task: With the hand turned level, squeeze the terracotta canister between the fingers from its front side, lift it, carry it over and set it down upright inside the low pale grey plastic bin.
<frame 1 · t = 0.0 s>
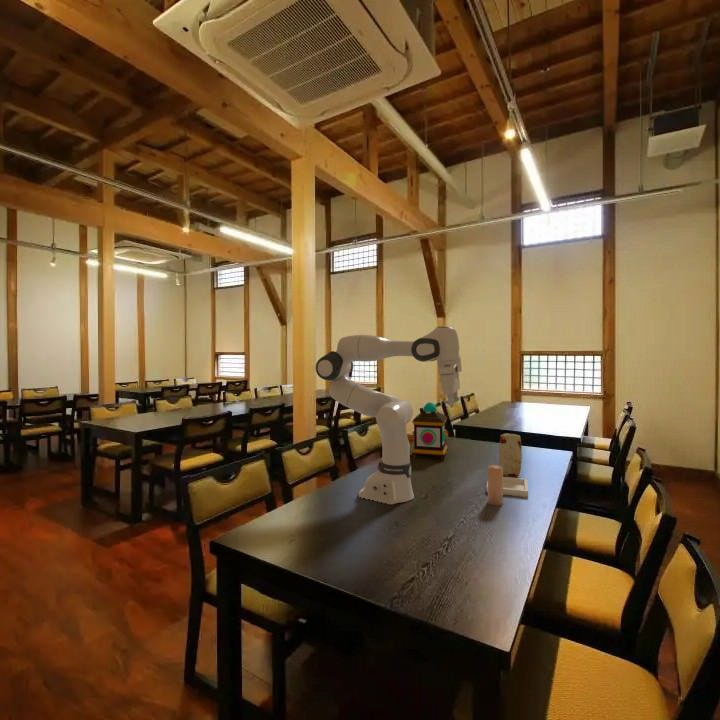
hand: (453, 403, 156), 39 cm above the table, tool pointing down, fingers open, 8 cm apart
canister: (495, 502, 157), on the table
decorative lantern: (430, 456, 225), on the table
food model: (510, 476, 189), on the table
bin: (507, 488, 172), on the table
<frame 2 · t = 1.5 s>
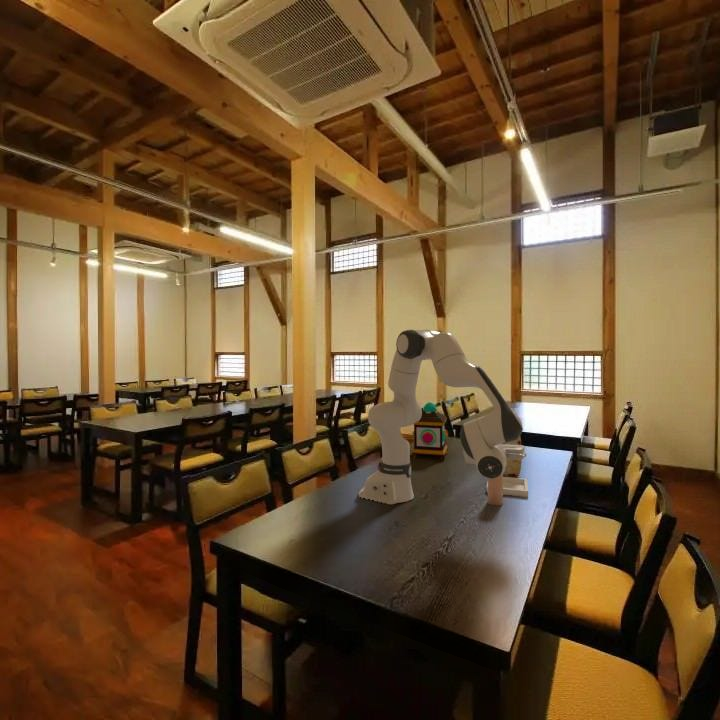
hand: (493, 445, 145), 25 cm above the table, tool horizontal, fingers open, 8 cm apart
nothing on the table moved.
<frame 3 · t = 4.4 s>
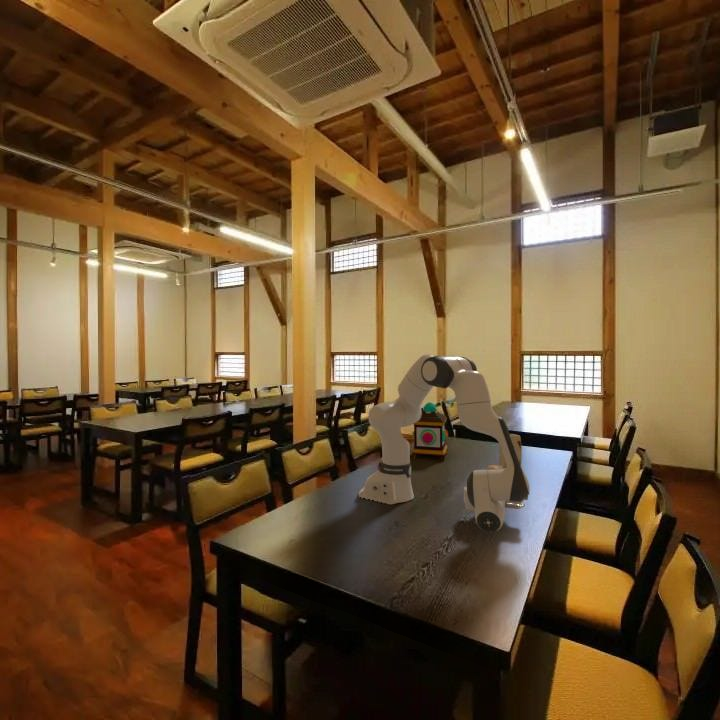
hand: (493, 489, 149), 8 cm above the table, tool horizontal, fingers open, 8 cm apart
nothing on the table moved.
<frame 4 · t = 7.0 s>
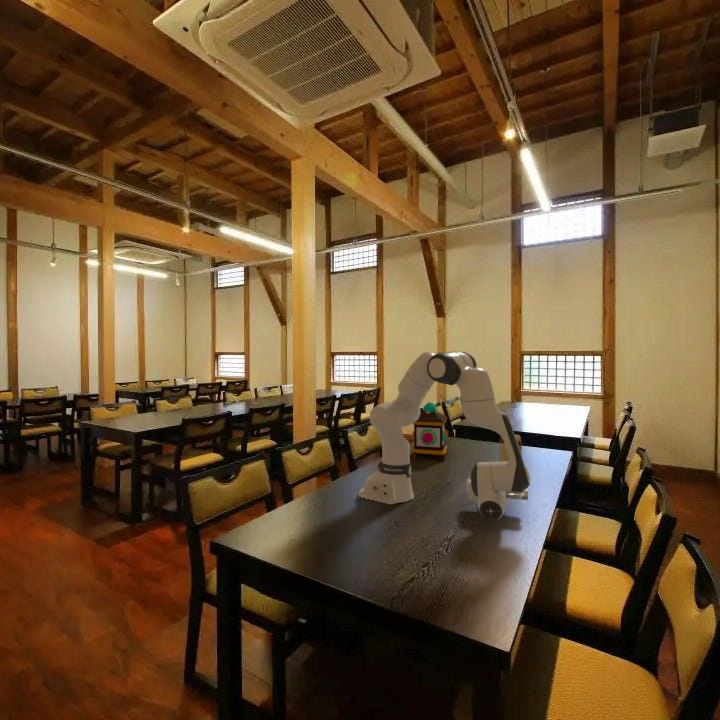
hand: (495, 481, 158), 8 cm above the table, tool horizontal, fingers closed on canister, 5 cm apart
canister: (495, 502, 157), on the table, touching gripper
everything else where it was.
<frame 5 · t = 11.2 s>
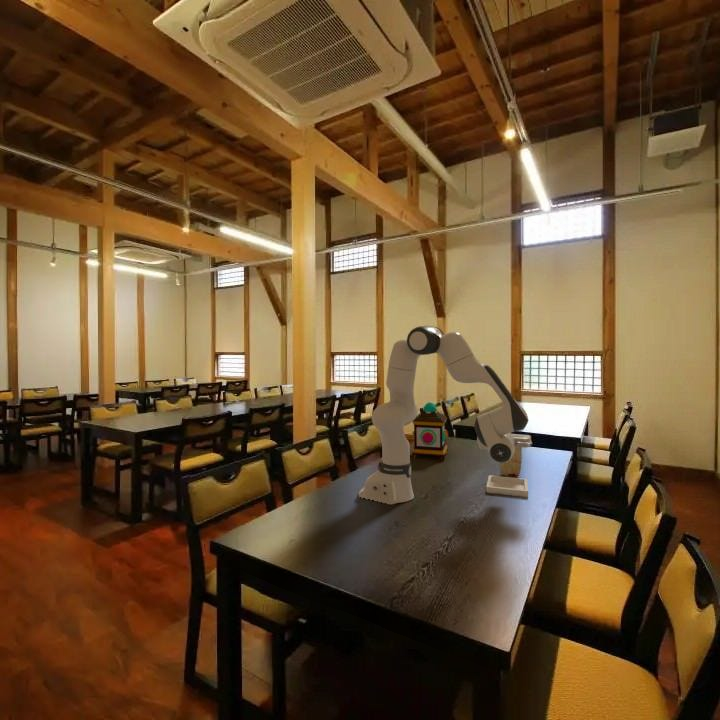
hand: (504, 435, 167), 24 cm above the table, tool horizontal, fingers closed on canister, 5 cm apart
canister: (504, 455, 166), point 16 cm above the table, touching gripper
everything else where it was.
when the fingers open (9 cm above the table, at t = 15.8 s): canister stays where it is, resting on bin.
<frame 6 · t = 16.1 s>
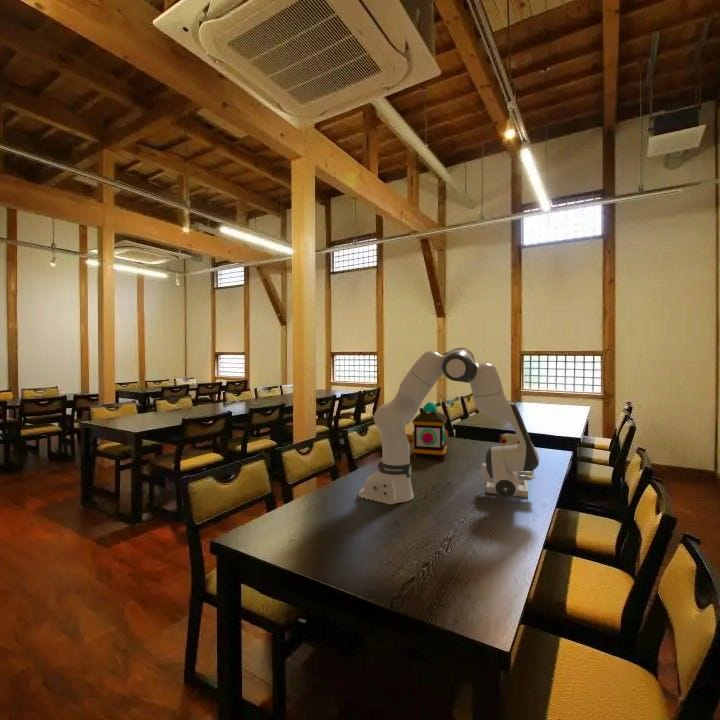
hand: (507, 465, 173), 9 cm above the table, tool horizontal, fingers open, 8 cm apart
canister: (507, 487, 172), point 1 cm above the table, touching bin
everything else where it was.
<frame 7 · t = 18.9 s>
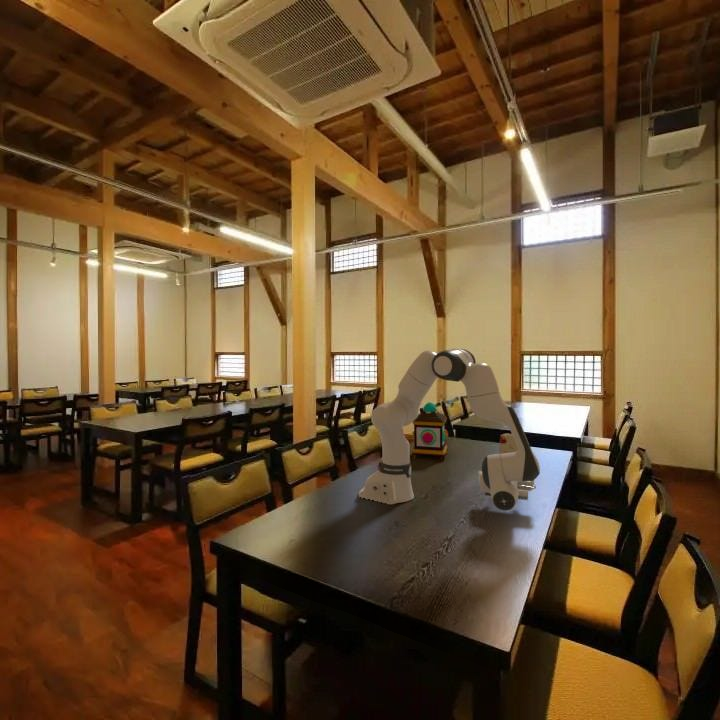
hand: (506, 474, 161), 10 cm above the table, tool horizontal, fingers open, 8 cm apart
nothing on the table moved.
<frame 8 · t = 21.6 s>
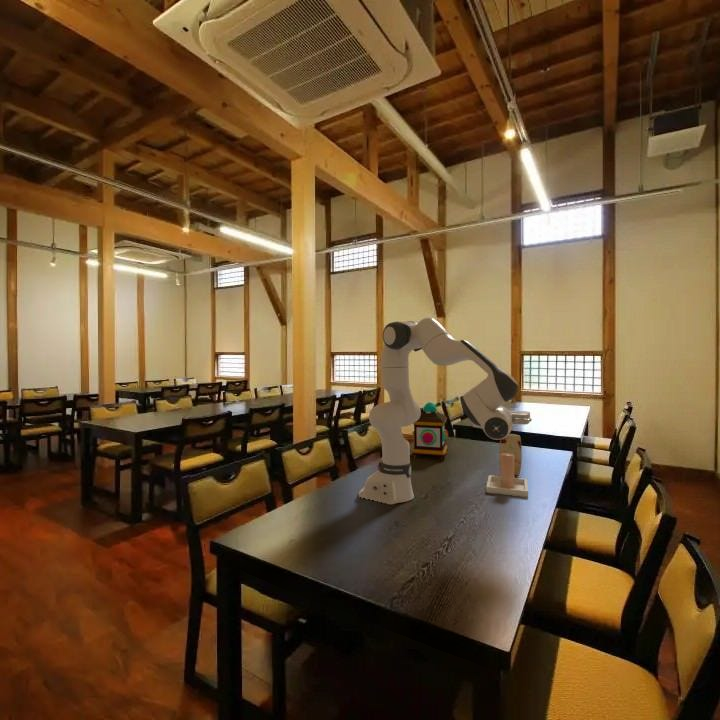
hand: (500, 412, 150), 36 cm above the table, tool horizontal, fingers open, 8 cm apart
nothing on the table moved.
at the end: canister inside the target area on the bin (0.0 cm from its centre), point 0.5 cm above the bin's base; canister tilted 0°; the gripper is holding nothing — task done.
